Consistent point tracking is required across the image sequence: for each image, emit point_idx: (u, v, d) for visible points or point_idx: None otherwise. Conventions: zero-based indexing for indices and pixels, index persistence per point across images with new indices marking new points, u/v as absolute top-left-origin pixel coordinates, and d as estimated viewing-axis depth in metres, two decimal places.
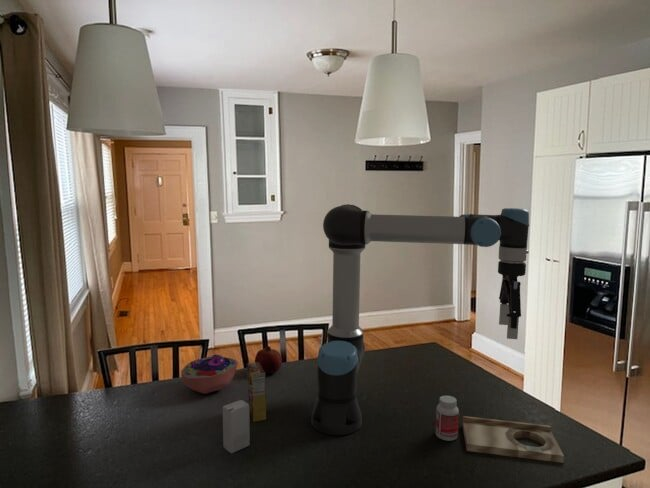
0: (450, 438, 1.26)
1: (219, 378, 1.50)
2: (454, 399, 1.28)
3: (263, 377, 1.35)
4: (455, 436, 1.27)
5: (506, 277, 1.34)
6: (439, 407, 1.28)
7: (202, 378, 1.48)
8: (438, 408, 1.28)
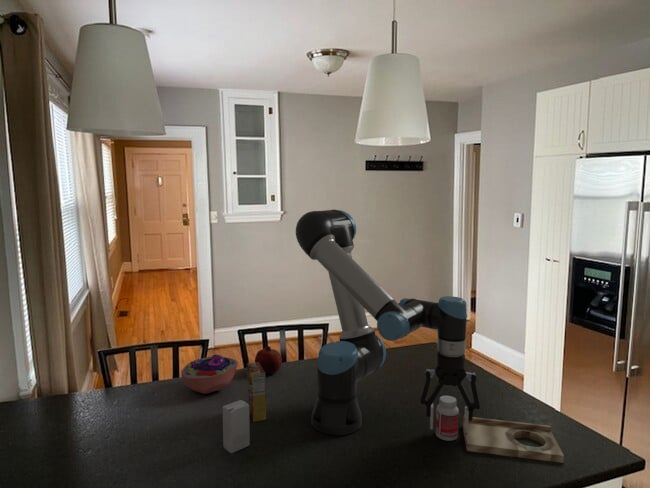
0: (450, 438, 1.26)
1: (219, 378, 1.50)
2: (454, 399, 1.28)
3: (263, 377, 1.35)
4: (455, 436, 1.27)
5: None
6: (439, 407, 1.28)
7: (202, 378, 1.48)
8: (438, 408, 1.28)
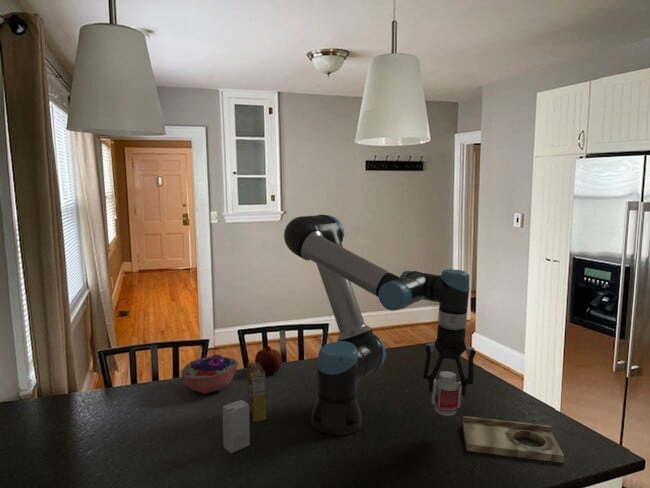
0: (449, 413, 1.26)
1: (219, 378, 1.50)
2: (454, 374, 1.27)
3: (263, 377, 1.35)
4: (454, 411, 1.26)
5: None
6: (439, 382, 1.27)
7: (202, 378, 1.48)
8: (438, 383, 1.27)
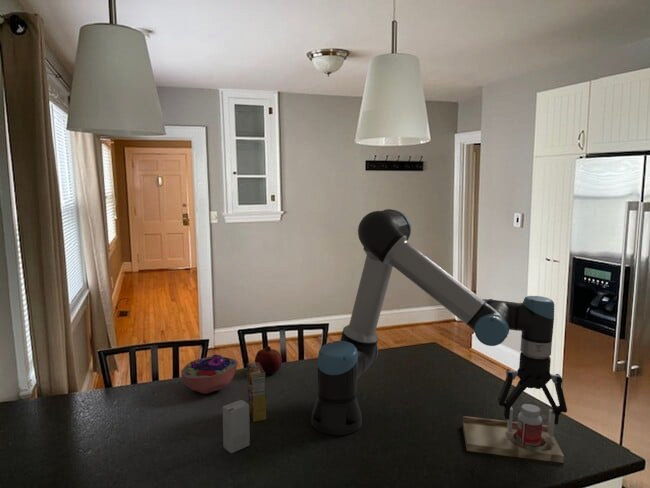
0: None
1: (219, 378, 1.50)
2: (537, 408, 1.23)
3: (263, 377, 1.35)
4: (539, 446, 1.22)
5: None
6: (522, 416, 1.23)
7: (202, 378, 1.48)
8: (521, 417, 1.23)
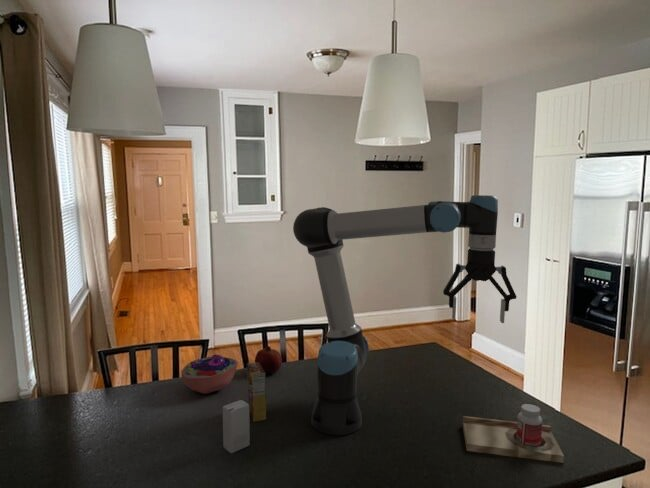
0: None
1: (219, 378, 1.50)
2: (537, 408, 1.23)
3: (263, 377, 1.35)
4: (539, 446, 1.22)
5: None
6: (522, 416, 1.23)
7: (202, 378, 1.48)
8: (521, 417, 1.23)
